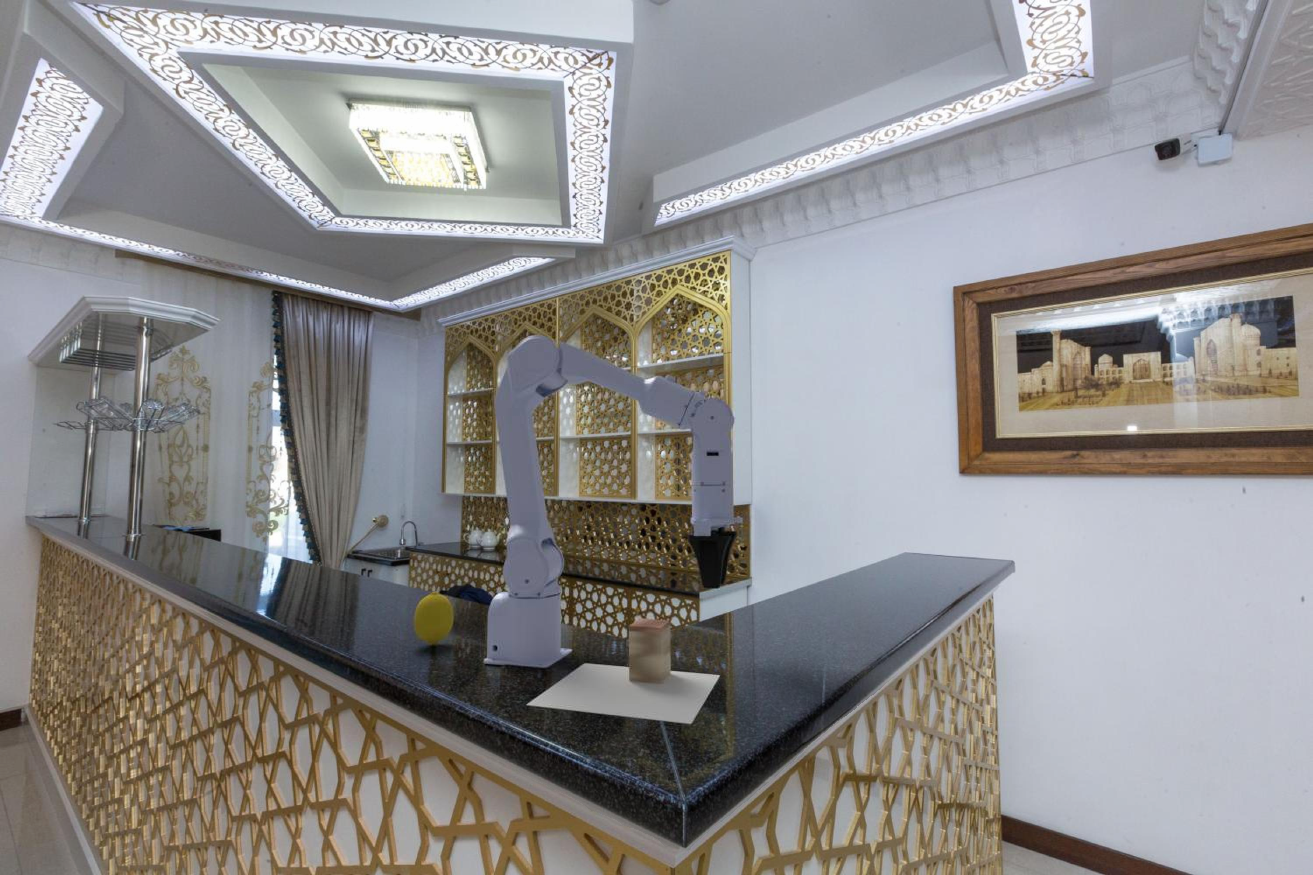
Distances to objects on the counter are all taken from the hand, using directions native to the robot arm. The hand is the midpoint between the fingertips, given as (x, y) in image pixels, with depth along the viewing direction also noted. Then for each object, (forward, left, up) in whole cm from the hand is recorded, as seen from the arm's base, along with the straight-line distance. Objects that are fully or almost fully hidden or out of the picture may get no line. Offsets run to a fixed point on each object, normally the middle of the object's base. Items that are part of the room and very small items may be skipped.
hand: (714, 585), depth 78 cm
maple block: (-6, -10, -10) cm, 15 cm away
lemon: (-42, -4, -10) cm, 43 cm away
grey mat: (-7, -14, -10) cm, 19 cm away
